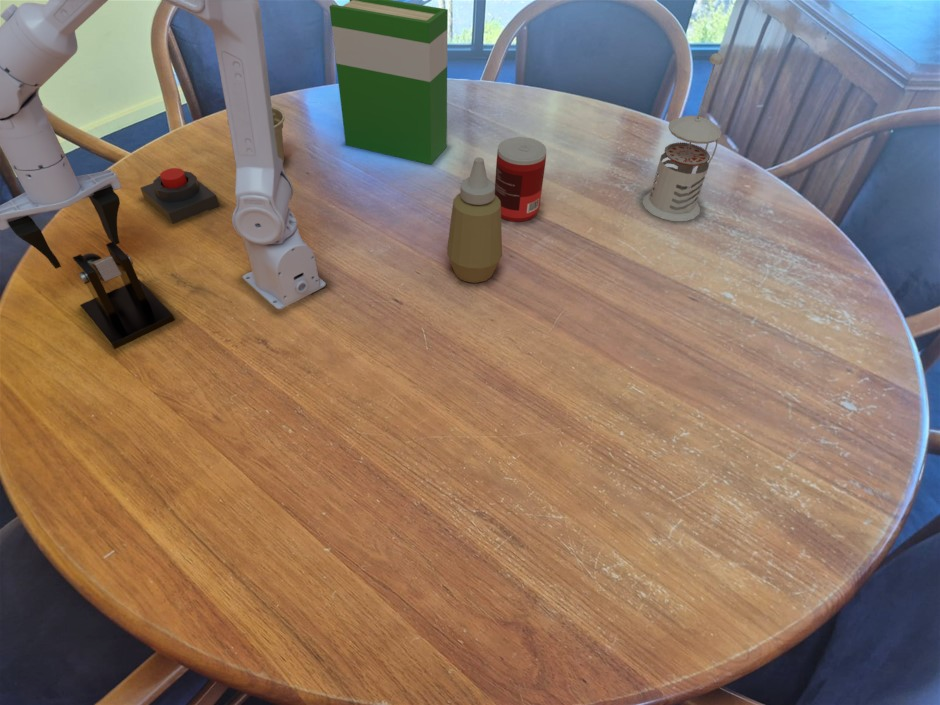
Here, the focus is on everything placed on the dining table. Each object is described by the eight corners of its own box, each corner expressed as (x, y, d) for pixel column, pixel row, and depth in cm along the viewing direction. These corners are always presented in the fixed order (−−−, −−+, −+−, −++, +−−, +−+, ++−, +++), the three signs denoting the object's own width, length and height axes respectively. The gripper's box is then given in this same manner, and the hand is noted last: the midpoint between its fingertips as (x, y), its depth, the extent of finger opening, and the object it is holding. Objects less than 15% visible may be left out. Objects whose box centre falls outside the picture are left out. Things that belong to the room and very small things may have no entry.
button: (191, 184, 99) (188, 174, 98) (169, 192, 98) (166, 182, 96) (180, 175, 101) (177, 165, 100) (159, 183, 99) (155, 173, 98)
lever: (84, 280, 86) (71, 258, 84) (107, 270, 87) (95, 249, 86) (102, 286, 76) (87, 262, 74) (128, 275, 77) (114, 252, 76)
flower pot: (262, 183, 107) (251, 136, 101) (227, 165, 111) (215, 118, 104) (304, 162, 112) (296, 116, 106) (269, 146, 116) (259, 100, 110)
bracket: (83, 311, 83) (50, 251, 76) (141, 285, 87) (115, 227, 80) (115, 350, 78) (83, 290, 71) (175, 321, 82) (150, 262, 75)
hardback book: (345, 144, 117) (329, 6, 100) (364, 128, 122) (351, -7, 105) (431, 164, 113) (429, 23, 96) (446, 146, 118) (447, 9, 101)
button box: (219, 206, 101) (213, 184, 99) (173, 225, 97) (165, 203, 95) (190, 182, 106) (183, 161, 103) (144, 199, 102) (136, 177, 99)
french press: (630, 200, 107) (668, 49, 89) (674, 181, 112) (719, 34, 94) (674, 228, 102) (724, 72, 84) (718, 206, 107) (775, 55, 89)
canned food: (539, 198, 107) (547, 138, 99) (538, 225, 101) (546, 163, 93) (495, 195, 107) (499, 134, 99) (491, 221, 101) (495, 159, 93)
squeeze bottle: (495, 292, 89) (505, 179, 76) (440, 283, 90) (440, 171, 77) (504, 259, 94) (515, 148, 81) (453, 251, 95) (455, 141, 82)
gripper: (87, 128, 79) (126, 219, 89) (-42, 166, 72) (16, 261, 81) (110, 148, 76) (148, 240, 85) (-22, 191, 68) (36, 286, 78)
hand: (85, 252), depth 83 cm, fingers open, 7 cm apart
